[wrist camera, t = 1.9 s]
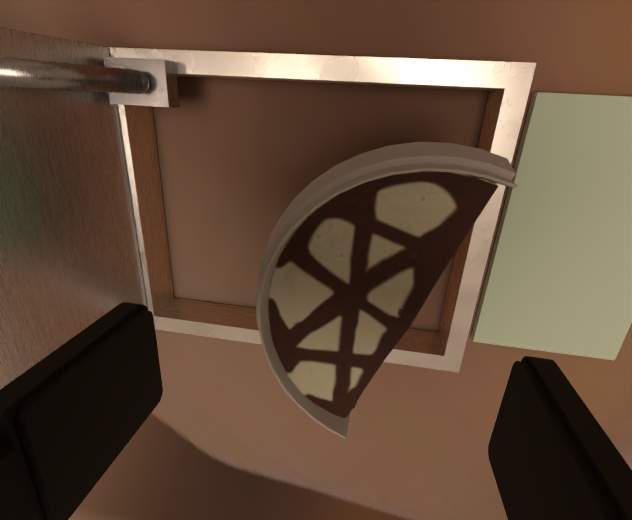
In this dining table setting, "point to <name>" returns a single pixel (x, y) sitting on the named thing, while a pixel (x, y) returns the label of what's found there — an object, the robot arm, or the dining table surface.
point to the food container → (364, 264)
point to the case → (146, 193)
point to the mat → (565, 232)
